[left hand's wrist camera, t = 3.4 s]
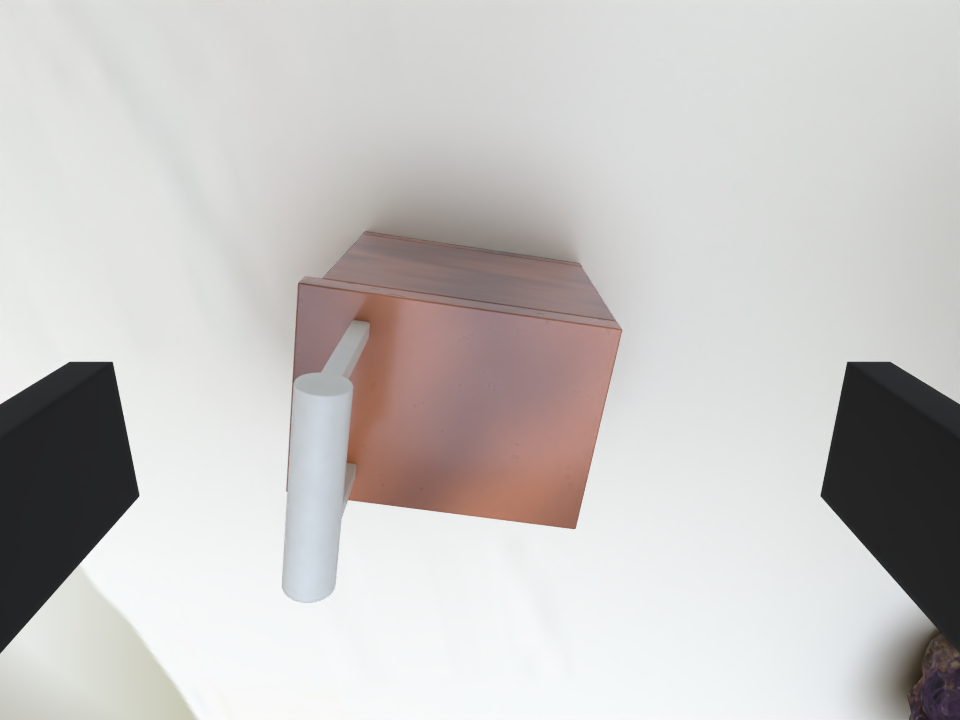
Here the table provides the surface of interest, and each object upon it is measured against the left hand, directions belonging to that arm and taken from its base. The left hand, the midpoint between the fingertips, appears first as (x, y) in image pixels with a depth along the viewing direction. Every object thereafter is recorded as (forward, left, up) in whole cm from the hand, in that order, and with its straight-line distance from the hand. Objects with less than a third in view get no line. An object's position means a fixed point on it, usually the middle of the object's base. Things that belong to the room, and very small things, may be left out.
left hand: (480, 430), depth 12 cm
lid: (+3, -5, -14) cm, 15 cm away
